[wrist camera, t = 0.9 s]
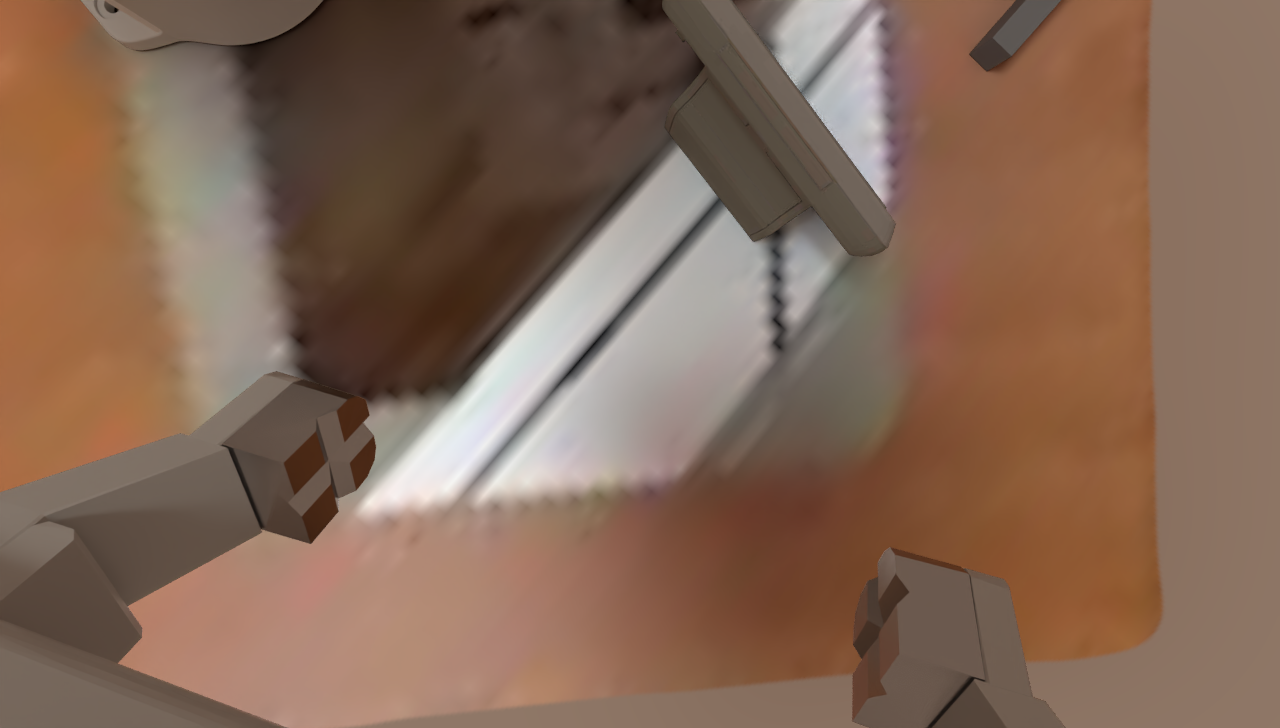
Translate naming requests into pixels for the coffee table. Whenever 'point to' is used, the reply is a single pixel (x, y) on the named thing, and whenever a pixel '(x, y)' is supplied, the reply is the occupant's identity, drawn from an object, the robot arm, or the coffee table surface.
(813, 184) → the digital clock
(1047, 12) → the dock
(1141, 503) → the coffee table surface
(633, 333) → the coffee table surface
